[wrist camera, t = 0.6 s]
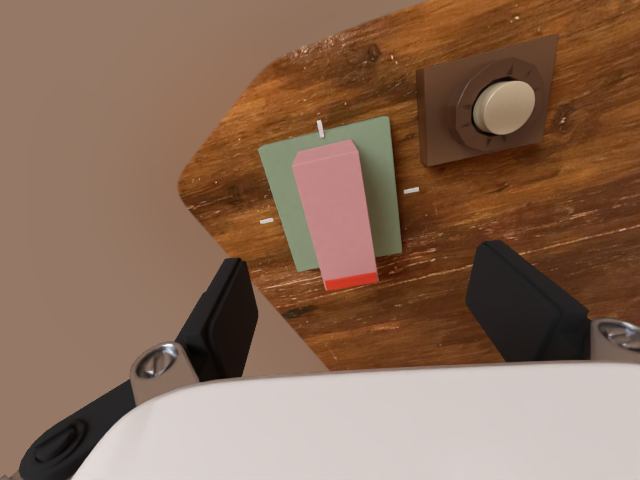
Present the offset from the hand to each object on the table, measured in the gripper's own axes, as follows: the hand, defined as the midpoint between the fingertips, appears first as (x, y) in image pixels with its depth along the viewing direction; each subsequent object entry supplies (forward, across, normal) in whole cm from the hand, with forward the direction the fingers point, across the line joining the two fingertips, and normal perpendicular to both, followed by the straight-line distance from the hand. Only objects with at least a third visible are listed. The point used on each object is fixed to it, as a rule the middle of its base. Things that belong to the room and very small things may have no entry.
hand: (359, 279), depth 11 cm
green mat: (+19, 0, +3) cm, 19 cm away
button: (+15, -13, -5) cm, 20 cm away
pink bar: (+17, 0, +3) cm, 17 cm away
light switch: (+18, -13, -5) cm, 23 cm away
